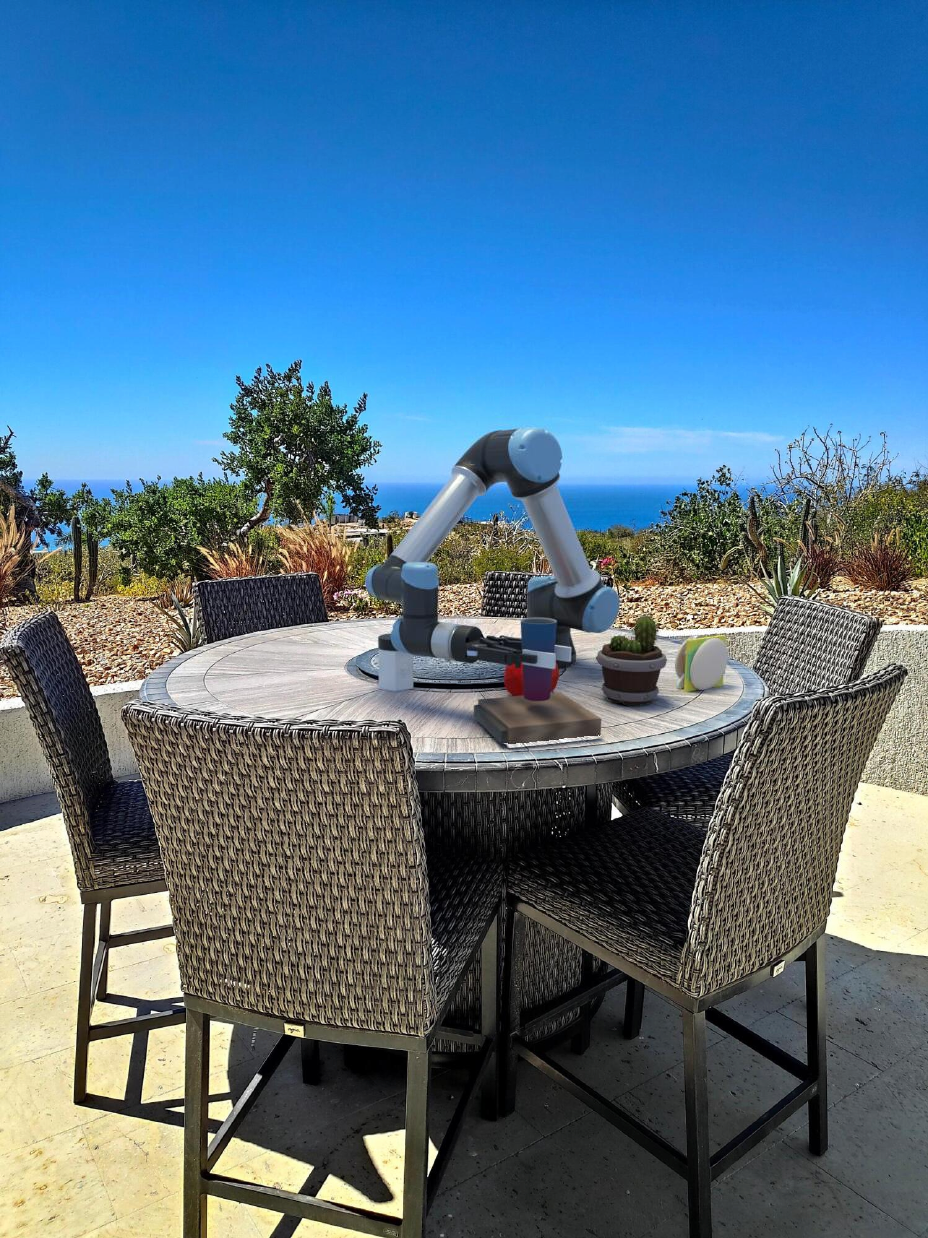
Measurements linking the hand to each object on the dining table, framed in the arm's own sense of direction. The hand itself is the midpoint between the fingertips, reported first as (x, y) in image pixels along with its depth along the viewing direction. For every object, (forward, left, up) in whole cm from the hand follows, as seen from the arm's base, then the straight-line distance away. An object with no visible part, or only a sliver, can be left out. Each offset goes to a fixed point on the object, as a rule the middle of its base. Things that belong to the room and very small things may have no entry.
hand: (562, 657), depth 133 cm
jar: (+23, -41, -15) cm, 49 cm away
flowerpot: (-24, -16, -15) cm, 32 cm away
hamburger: (-45, -21, -15) cm, 52 cm away
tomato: (-4, -24, -15) cm, 28 cm away
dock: (+3, -4, -15) cm, 16 cm away
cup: (+3, -4, -9) cm, 10 cm away
